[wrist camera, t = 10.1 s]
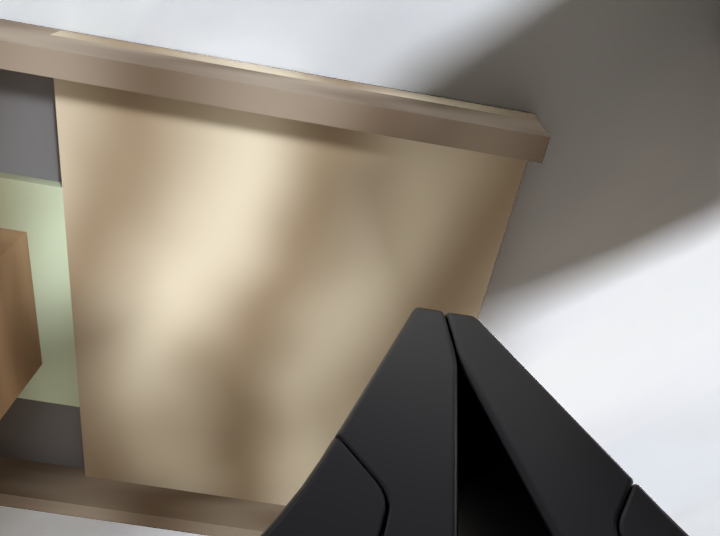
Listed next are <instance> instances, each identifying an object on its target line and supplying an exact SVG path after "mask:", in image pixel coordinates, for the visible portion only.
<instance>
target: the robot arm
mask: <svg viewBox="0 0 720 536" xmlns="http://www.w3.org/2000/svg"><path fill="white" fill-rule="evenodd" d="M260 536H689V535H688V534H687V533H686V532H685V531H684V530H683V529H681V528H680V527H679V526H678V525H677V524H676V523H675V522H674V521H673V520H672V519H671V518H670V517H669V516H668V515H667V514H666V513H665V512H664V511H663V510H662V509H661V508H660V507H659V506H658V505H657V504H656V503H655V502H654V501H653V499H652V498H651V497H650V496H649V495H648V494H647V493H646V492H645V491H644V490H643V489H642V488H641V487H640V486H639V485H637V484H634V485H633V479H632V478H631V477H630V476H629V475H628V474H627V473H626V472H625V471H624V470H623V469H622V468H621V467H620V466H619V465H618V464H617V463H616V462H615V461H614V460H613V459H612V458H611V457H610V455H609V454H608V453H607V452H606V451H605V450H604V449H603V448H602V447H601V446H600V445H599V444H598V443H597V442H596V441H595V440H594V439H593V438H592V437H591V436H590V435H589V434H588V433H587V432H586V431H585V430H584V429H583V428H582V427H581V426H580V425H579V424H578V422H577V421H576V420H575V419H574V418H573V417H572V416H571V415H570V414H569V413H568V412H567V411H566V410H565V409H564V408H563V407H562V406H561V405H560V404H559V403H558V402H557V401H556V400H555V399H554V398H553V397H552V396H551V395H550V394H549V393H548V392H547V391H546V390H545V388H544V387H543V386H542V385H541V384H540V383H539V382H538V381H537V380H536V379H535V378H534V377H533V376H532V375H531V374H530V373H529V372H528V371H527V370H526V369H525V368H524V367H523V366H522V365H521V364H520V363H519V362H518V361H517V360H516V359H515V358H514V357H513V356H512V354H511V353H510V352H509V351H508V350H507V349H506V348H505V347H504V346H503V345H502V344H501V343H500V342H499V341H498V340H497V339H496V338H495V337H494V336H493V335H492V334H491V333H490V332H489V331H488V330H487V329H486V328H485V327H484V326H483V325H482V324H481V323H480V322H479V320H478V319H476V318H475V317H473V316H470V315H463V314H457V313H446V314H445V315H444V313H443V312H442V311H439V310H433V309H426V308H420V307H417V308H415V309H414V310H413V311H412V313H411V314H410V316H409V318H408V319H407V321H406V322H405V324H404V326H403V327H402V329H401V330H400V332H399V334H398V335H397V337H396V339H395V340H394V342H393V343H392V345H391V347H390V348H389V350H388V351H387V353H386V355H385V356H384V358H383V360H382V361H381V363H380V364H379V366H378V368H377V369H376V371H375V372H374V374H373V376H372V377H371V379H370V380H369V382H368V384H367V385H366V387H365V389H364V390H363V392H362V393H361V395H360V397H359V398H358V400H357V401H356V403H355V405H354V406H353V408H352V410H351V411H350V413H349V414H348V416H347V418H346V419H345V421H344V422H343V424H342V426H341V427H340V429H339V430H338V432H337V434H336V435H335V438H334V439H333V440H332V441H331V443H330V444H329V446H328V447H327V449H326V451H325V452H324V454H323V455H322V457H321V459H320V460H319V462H318V463H317V465H316V466H315V467H314V469H313V470H312V472H311V473H310V475H309V476H308V478H307V479H306V481H305V482H304V483H303V485H302V486H301V488H300V489H299V490H298V491H297V493H296V494H295V495H294V496H293V498H292V499H291V500H290V501H289V502H288V504H287V505H286V506H285V507H284V509H283V510H282V511H281V512H280V513H279V515H278V516H277V517H276V518H275V520H274V521H273V522H272V523H271V524H270V525H269V526H268V527H267V529H266V530H265V531H264V532H263V533H262V534H261V535H260Z"/></svg>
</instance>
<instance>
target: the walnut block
mask: <svg viewBox="0 0 720 536" xmlns="http://www.w3.org/2000/svg"><path fill="white" fill-rule="evenodd" d="M41 365H42V357H41V349H40V340H39V332H38V323H37V315H36V306H35V298H34V289H33V281H32V272H31V264H30V255H29V247H28V238H27V232H23V231H17V230H11V229H4V228H0V420H1V418H2V417H3V416H4V414H5V413H6V412H7V410H8V409H9V408H10V406H11V405H12V404H13V402H14V401H15V400H16V398H17V397H18V396H19V394H20V393H21V392H22V390H23V389H24V388H25V386H26V385H27V384H28V382H29V381H30V380H31V378H32V377H33V376H34V374H35V373H36V372H37V370H38V369H39V368H40V366H41Z"/></svg>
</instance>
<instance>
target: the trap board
mask: <svg viewBox="0 0 720 536" xmlns="http://www.w3.org/2000/svg"><path fill="white" fill-rule="evenodd" d="M549 140H550V136H549V134H548V133H547V131H546V130H545V128H544V127H543V125H542V124H541V122H540V121H539V119H538V118H537V116H536V115H535V114H533V113H527V112H521V111H516V110H510V109H504V108H499V107H493V106H488V105H482V104H476V103H471V102H465V101H459V100H454V99H448V98H443V97H437V96H431V95H426V94H420V93H414V92H409V91H403V90H398V89H392V88H386V87H381V86H375V85H369V84H364V83H358V82H353V81H347V80H341V79H336V78H330V77H324V76H319V75H313V74H308V73H302V72H296V71H291V70H285V69H279V68H274V67H268V66H263V65H257V64H251V63H246V62H240V61H234V60H229V59H223V58H217V57H212V56H206V55H201V54H195V53H189V52H184V51H178V50H172V49H167V48H161V47H156V46H150V45H144V44H139V43H133V42H127V41H122V40H116V39H111V38H105V37H99V36H94V35H88V34H82V33H77V32H71V31H66V30H60V29H54V28H49V27H43V26H37V25H32V24H26V23H21V22H15V21H9V20H4V19H0V228H4V229H11V230H17V231H23V232H27V238H28V247H29V255H30V264H31V272H32V281H33V289H34V298H35V306H36V315H37V323H38V332H39V340H40V349H41V357H42V365H41V366H40V368H39V369H38V370H37V372H36V373H35V374H34V376H33V377H32V378H31V380H30V381H29V382H28V384H27V385H26V386H25V388H24V389H23V390H22V392H21V393H20V394H19V396H18V397H17V398H16V400H15V401H14V402H13V404H12V405H11V406H10V408H9V409H8V410H7V412H6V413H5V414H4V416H3V417H2V418H1V420H0V506H7V507H14V508H21V509H28V510H35V511H42V512H49V513H56V514H62V515H69V516H76V517H83V518H90V519H97V520H104V521H111V522H118V523H125V524H132V525H139V526H146V527H153V528H160V529H167V530H174V531H181V532H188V533H194V534H201V535H208V536H260V535H261V534H262V533H263V532H264V531H265V530H266V529H267V527H268V526H269V525H270V524H271V523H272V522H273V521H274V520H275V518H276V517H277V516H278V515H279V513H280V512H281V511H282V510H283V509H284V507H285V506H286V505H287V504H288V502H289V501H290V500H291V499H292V498H293V496H294V495H295V494H296V493H297V491H298V490H299V489H300V488H301V486H302V485H303V483H304V482H305V481H306V479H307V478H308V476H309V475H310V473H311V472H312V470H313V469H314V467H315V466H316V465H317V463H318V462H319V460H320V459H321V457H322V455H323V454H324V452H325V451H326V449H327V447H328V446H329V444H330V443H331V441H332V440H333V439H334V438H335V435H336V434H337V432H338V430H339V429H340V427H341V426H342V424H343V422H344V421H345V419H346V418H347V416H348V414H349V413H350V411H351V410H352V408H353V406H354V405H355V403H356V401H357V400H358V398H359V397H360V395H361V393H362V392H363V390H364V389H365V387H366V385H367V384H368V382H369V380H370V379H371V377H372V376H373V374H374V372H375V371H376V369H377V368H378V366H379V364H380V363H381V361H382V360H383V358H384V356H385V355H386V353H387V351H388V350H389V348H390V347H391V345H392V343H393V342H394V340H395V339H396V337H397V335H398V334H399V332H400V330H401V329H402V327H403V326H404V324H405V322H406V321H407V319H408V318H409V316H410V314H411V313H412V311H413V310H414V309H415V308H417V307H420V308H426V309H433V310H439V311H442V312H443V313H444V315H445V314H446V313H457V314H463V315H470V316H473V317H475V318H476V319H478V316H479V313H480V310H481V307H482V303H483V300H484V297H485V294H486V291H487V288H488V284H489V281H490V278H491V275H492V272H493V269H494V265H495V262H496V259H497V256H498V253H499V250H500V246H501V243H502V240H503V237H504V234H505V231H506V227H507V224H508V221H509V218H510V215H511V212H512V208H513V205H514V202H515V199H516V196H517V193H518V189H519V186H520V183H521V180H522V177H523V174H524V170H525V167H526V164H527V161H533V162H539V163H542V161H543V158H544V155H545V152H546V149H547V146H548V143H549Z"/></svg>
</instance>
